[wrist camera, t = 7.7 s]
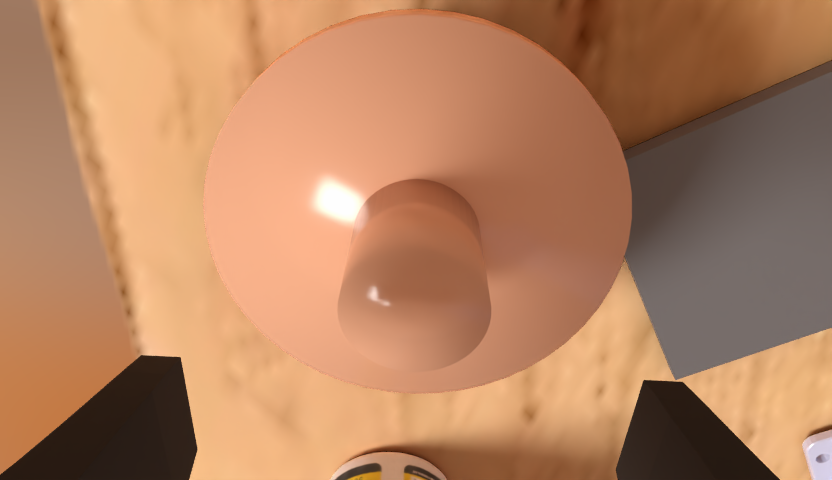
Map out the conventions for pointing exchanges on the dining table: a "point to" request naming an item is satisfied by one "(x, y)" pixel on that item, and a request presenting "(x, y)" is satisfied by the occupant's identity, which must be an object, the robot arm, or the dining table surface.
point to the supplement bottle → (388, 468)
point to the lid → (417, 202)
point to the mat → (736, 225)
